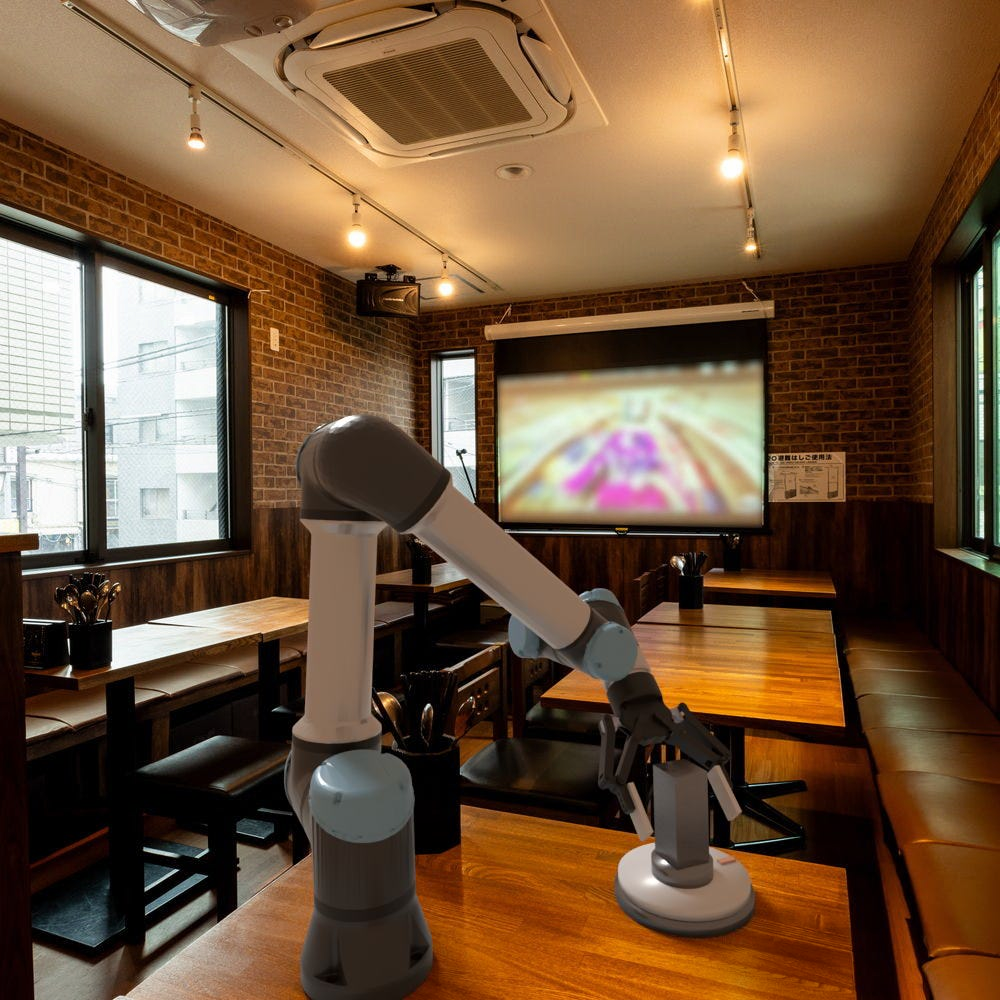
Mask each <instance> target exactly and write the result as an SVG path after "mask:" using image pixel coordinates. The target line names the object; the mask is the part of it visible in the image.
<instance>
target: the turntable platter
mask: <svg viewBox="0 0 1000 1000" xmlns="http://www.w3.org/2000/svg"><path fill="white" fill-rule="evenodd" d="M654 849H655V842H652V843H647V844H643V845H640V846H638V847H635V848H633V849H632V850H631V849H630V850H629V851H628V852H627V853H625V854H624V855H623V856H622V858H621V859H620V860H619V863H618V867H617V872H618V881H619V886H620V889H621V891H622V892H623V894H624V895H625V896H626V897H627V898H628V899H629V900H630V901H631V902H632V903H634V904H635V905H637V906H638V907H640V908H642V909H644V910H645V911H648V912H650V913H652V914H655V915H658V916H661V917H665V918H669V919H674V920H680V921H689V922H703V921H713V920H719V919H723V918H726V917H729V916H732V915H734V914H736V913H738V912H739V911H741V910H742V909H743V908H744V907H745V906H746V905H747V903H748V902H749V899H750V895H751V885H750V883H751V876H750V874H749V871H748V870H747V869H746V868H745V866H744V865H743V864H742V863H741V862H740V861H739V860H737V859H736V858H735V857H734V856H732V855H729V854H727V853H725V852H723V851H721V850H718V849H717V848H714V847H710V846H709V854H710V855H711V856H712V858H713V871H714V877H713V880H712V881H711V882H710V883H709V884H708V885H706V886H704V887H700V888H695V889H681V888H675V887H671V886H668V885H666V884H663V883H661V882H660V881H658V880H657V879H656V878H655V877H654V876H653V874H652V868H651V853H652V851H653V850H654Z"/></svg>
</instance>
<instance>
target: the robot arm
mask: <svg viewBox="0 0 1000 1000" xmlns="http://www.w3.org/2000/svg"><path fill="white" fill-rule="evenodd" d="M295 474H296V480H297V483H298V485H299V488H300V507H299V508H300V512H299V513H300V514H299V522H301V524H303V526H304V527H305V528H306V529H307V530H308V531H309V532H310V534H311V538H310V567H309V568H310V570H309V592H308V593H309V595H308V596H309V597H308V598H309V599H308V622H307V624H308V625H307V647H306V648H307V649H306V651H307V653H306V671H305V672H306V676H305V698H304V699H305V702H304V703H305V704H304V715H303V716H302V717H301V718H299V720H298V721H297V722H296V723H295V724H294V725H293V727H292V731H291V733H292V735H291V750H290V752H289V754H288V755H287V757H286V762H285V766H284V770H283V771H284V775H283V776H284V777H283V779H284V780H283V783H284V791H285V795H286V797H287V800H288V802H289V805H290V806H291V807H292V809H293V811H294V812H295V814H296V816H297V818H298V821H299V822H300V824H301V826H302V828H303V830H304V832H305V834H306V836H307V838H308V842H309V843H310V848H311V854H312V855H311V857H312V879H313V882H312V884H313V885H312V886H313V911H312V914H311V918H310V921H309V925H308V927H307V931H306V934H305V935H306V936H305V939H304V942H303V946H302V949H301V953H300V960H299V961H300V962H299V963H300V964H299V965H300V983H301V986H302V988H303V991H304V992H305V993H306V995H307V996H308V997H309V998H310V999H311V1000H402V999H403V998H405V997H407V996H409V995H411V993H413V992H415V991H416V990H417V989H418V988H419V987H420V986H421V985H422V984H423V983H424V982H425V981H426V979H427V977H429V975H430V972H431V970H432V967H433V963H434V962H433V961H434V954H433V951H434V949H433V948H434V947H433V939H432V938H433V937H432V933H431V931H430V928H429V925H428V923H427V920H426V917H425V915H424V912H423V909H422V907H421V906H422V905H421V904H420V901H419V898H418V896H417V890H416V889H417V888H416V857H415V856H416V854H415V853H416V852H415V823H414V822H415V821H414V819H415V818H414V817H415V816H414V814H415V812H414V807H415V799H416V798H415V794H414V792H415V791H414V787H413V785H412V784H413V782H412V776H411V773H410V772H411V771H410V770H409V768H408V767H407V765H406V763H405V762H403V760H402V759H400V758H398V757H397V756H395V755H393V754H391V753H389V752H385V753H382V723H381V722H380V721H379V720H378V719H377V718H376V717H375V716H374V715H373V713H372V712H371V711H372V688H373V663H374V640H375V639H374V634H375V631H374V630H375V628H374V627H375V612H376V611H375V609H376V608H375V607H376V606H375V604H376V582H377V579H376V577H377V554H378V536H379V534H380V533H381V532H382V531H383V530H384V529H385V528H386V527H387V526H390V527H391V528H392V529H393V530H395V532H396V533H398V534H399V535H407V534H408V535H409V534H413V535H414V536H415V537H416V538H417V539H419V540H420V541H422V543H424V544H425V545H426V546H427V547H429V548H430V549H431V550H432V551H433V552H435V553H436V554H437V555H438V556H440V557H441V558H442V559H444V561H446V562H447V563H449V564H450V566H452V567H453V568H454V569H455V570H457V571H458V572H460V574H462V575H463V576H464V577H465V578H467V579H468V580H469V581H471V583H473V584H474V585H475V586H477V588H479V589H480V590H482V591H483V592H484V593H485V594H486V595H488V597H489V598H491V599H492V600H494V601H495V602H496V603H497V604H499V606H501V607H502V608H504V609H505V611H507V612H509V613H510V614H511V616H510V618H509V622H508V630H507V631H508V641H509V644H510V647H511V649H512V651H513V653H514V655H516V656H517V657H519V658H522V659H533V660H536V659H538V658H539V659H541V658H545V659H550V660H552V661H553V662H556V663H559V664H561V665H564V666H565V667H566V666H567V667H570V668H572V669H574V670H575V671H579V672H581V673H583V674H586V675H588V676H590V678H592V679H595V680H600V683H601V684H602V688H603V689H604V691H606V693H605V694H606V695H605V696H606V698H607V700H608V702H609V705H610V707H611V710H612V712H613V714H614V715H615V717H612V715H610V714H609V713H608V714H607V713H605V714H604V715H603V716H602V718H601V720H600V721H599V723H598V729H599V733H600V737H601V741H600V742H601V743H600V752H599V753H600V754H599V755H600V756H599V765H598V766H599V767H598V768H599V769H598V777H597V778H598V779H597V786H598V787H599V789H601V790H605V789H609V791H610V793H611V794H613V795H615V796H616V798H617V799H618V802H619V805H620V808H621V809H622V812H623V813H624V814H625V815H629V816H630V818H631V820H632V823H633V825H634V829H635V831H636V834H637V836H638V838H639V841H640V842H644V841H647V840H648V838H649V837H650V836H651V835H652V834H653V833H654V830H653V827H652V824H651V823H650V820H649V817H648V815H647V813H646V810H645V808H644V805H643V802H642V800H641V797H640V795H639V793H638V790H637V788H636V785H635V783H634V781H632V782H628V783H627V781H628V778H629V775H630V772H631V769H632V765H633V762H634V759H635V757H636V756H635V755H636V753H637V749H638V746H639V745H641V746H642V747H645V746H648V745H650V744H661V743H663V742H664V743H666V744H667V745H669V746H670V745H672V746H674V747H675V748H677V749H678V750H679V751H681V752H682V753H684V754H685V755H686V756H688V757H689V758H691V759H692V760H694V761H695V762H697V763H699V765H701V766H703V767H704V769H707V770H708V771H707V781H709V784H710V786H711V787H712V790H713V792H714V794H715V796H716V798H717V800H718V803H719V805H720V806H721V809H722V810H723V813H724V815H725V817H726V819H727V821H728V822H729V821H734V820H735V818H737V817H738V816H739V815H740V814H741V813H742V812H743V810H742V809H741V806H740V805H739V803H738V801H737V799H736V797H735V794H734V793H733V789H734V783H733V781H732V780H731V777H730V775H729V773H728V771H727V770H726V767H725V764H726V763H727V762H728V761H730V759H731V758H732V757H733V755H732V752H731V751H730V750H729V749H728V747H726V746H725V745H724V744H723V743H722V741H720V740H719V739H718V738H717V737H716V736H715V735H714V734H713V733H712V732H711V731H710V730H708V728H707V727H706V726H705V725H704V724H703V723H701V721H699V720H698V718H696V717H695V716H694V715H693V713H692V712H691V709H690V708H689V707H688V705H687V703H685V702H683V701H682V702H680V703H679V704H678V705H677V706H675V707H674V706H673V707H672V708H669V707H668V706H667V705H666V704H665V702H664V698H663V693H662V691H661V689H660V687H659V685H658V683H657V680H656V678H655V676H654V674H652V670H651V667H650V665H649V663H648V661H647V659H646V656H645V655H644V652H643V651H642V649H641V647H640V645H639V642H638V641H637V638H636V637H635V634H634V632H633V630H632V627H631V624H630V622H629V620H628V617H627V616H626V612H625V611H624V608H623V607H622V606H621V604H620V603H619V600H618V599H617V597H616V595H615V594H614V593H613V592H612V591H611V590H609V589H607V588H602V587H601V588H599V587H598V588H593V589H592V590H591V591H590V590H589V591H588V590H587V591H584V592H583V593H581V594H579V595H578V594H577V593H576V592H575V591H573V590H572V589H571V588H570V587H569V586H568V585H566V584H565V582H563V581H562V580H561V579H559V577H557V576H556V575H555V574H554V573H553V572H552V571H550V570H549V568H547V567H546V566H545V565H544V564H543V563H541V561H539V560H538V558H536V557H535V556H533V554H531V553H530V552H529V551H528V550H527V549H526V548H524V547H523V546H522V545H521V544H520V543H519V542H518V541H517V540H515V539H514V538H513V537H512V536H511V535H510V534H508V533H507V532H506V531H505V530H504V529H503V528H502V527H500V526H499V525H498V524H497V523H496V522H495V521H494V520H493V519H492V518H490V517H489V516H488V515H487V514H486V513H485V512H483V511H482V510H481V509H480V508H479V507H478V506H476V504H474V503H473V502H472V501H470V499H469V498H467V497H466V496H465V495H464V494H463V493H462V492H461V491H459V490H458V488H456V487H455V486H454V485H453V484H454V483H453V481H454V480H453V474H452V472H450V470H449V469H447V467H445V466H444V465H443V464H442V463H440V462H439V461H438V460H437V459H436V458H435V457H434V456H433V455H432V454H431V453H429V452H428V451H427V450H426V449H425V448H424V447H423V446H422V445H421V444H419V442H417V441H416V440H415V439H413V437H411V435H409V434H408V433H407V432H405V431H404V430H403V429H402V428H400V427H399V426H397V425H396V424H395V423H393V422H392V421H389V420H387V419H386V418H383V417H380V416H377V415H373V414H369V413H368V414H367V413H366V414H365V413H357V414H353V415H349V416H348V415H347V416H346V417H343V418H341V419H338V420H333V421H329V422H326V423H324V424H322V425H321V426H318V427H317V428H315V429H314V430H313V431H311V433H310V434H309V435H308V436H307V437H306V438H305V440H304V441H303V443H302V444H301V446H300V448H299V450H298V453H297V456H296V460H295ZM618 729H619V730H620V731H621V732H622V733H624V734H625V735H627V737H626V739H625V743H624V746H623V751H622V754H621V757H620V760H619V762H618V766H617V768H616V772H615V775H614V765H615V749H616V732H617V730H618ZM670 731H671V732H672V733H670Z"/></svg>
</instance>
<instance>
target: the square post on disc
mask: <svg viewBox="0 0 1000 1000" xmlns="http://www.w3.org/2000/svg"><path fill="white" fill-rule="evenodd" d="M652 771H653V773H652V777H653V782H652V783H653V811H654V812H653V819H654V843H655V849H654V850H653V851H652V853H651V868H652V874H653V876H654V877H655V878H656V879H657V880H658V881H660V882H661V883H663V884H666V885H668V886H671V887H675V888H681V889H695V888H700V887H704V886H706V885H708V884H709V883H710V882H711V881H712V880H713V877H714V871H713V858H712V856H711V855H710V854H709V847H710V840H709V839H710V838H709V837H710V836H709V835H710V834H709V831H710V830H709V827H710V826H709V792H708V791H709V789H708V787H709V785H708V784H709V783H708V777H707V773H708V771H707V770H706V769H705V768H702V767H700V766H698V765H697V764H695V763H694V762H691V761H690V760H688V759H686V758H681V759H674V760H670V761H664V762H660V763H659V762H658V763H653V764H652Z"/></svg>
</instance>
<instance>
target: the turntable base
mask: <svg viewBox="0 0 1000 1000" xmlns="http://www.w3.org/2000/svg"><path fill="white" fill-rule="evenodd" d="M750 885H751V895H750V899H749V902H748V903H747V905H746V906H745V907H744V908H743V909H742V910H741V911H739V912H738V913H736V914H734V915H732V916H729V917H726V918H723V919H719V920H713V921H703V922H689V921H680V920H674V919H669V918H665V917H661V916H658V915H655V914H652V913H650V912H648V911H645V910H644V909H642V908H640V907H638V906H637V905H635V904H634V903H632V902H631V901H630V900H629V899H628V898H627V897H626V896H625V895H624V894H623V892H622V891H621V889H620V886H619V881H618V871H616V874H615V875H614V895H615V900H616V902H617V904H618V906H619V908H620V909H621V910H622V911H623V913H625V914H626V916H628V917H629V918H630V919H632V920H633V921H635V922H636V923H638V924H640V925H641V926H643V927H645V928H648V929H650V930H652V931H655V932H658V933H661V934H665V935H668V936H673V937H679V938H687V939H705V938H709V939H710V938H715V937H721V936H726V935H729V934H731V933H735V932H737V931H739V930H741V929H742V928H743V927H745V926H746V925H747V924H748V923H749V922H750V921H752V918H753V917H754V914H755V911H756V909H755V908H756V902H755V901H756V898H755V897H756V895H755V894H756V893H755V888H754V887H753V885H752V882H750Z"/></svg>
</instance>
